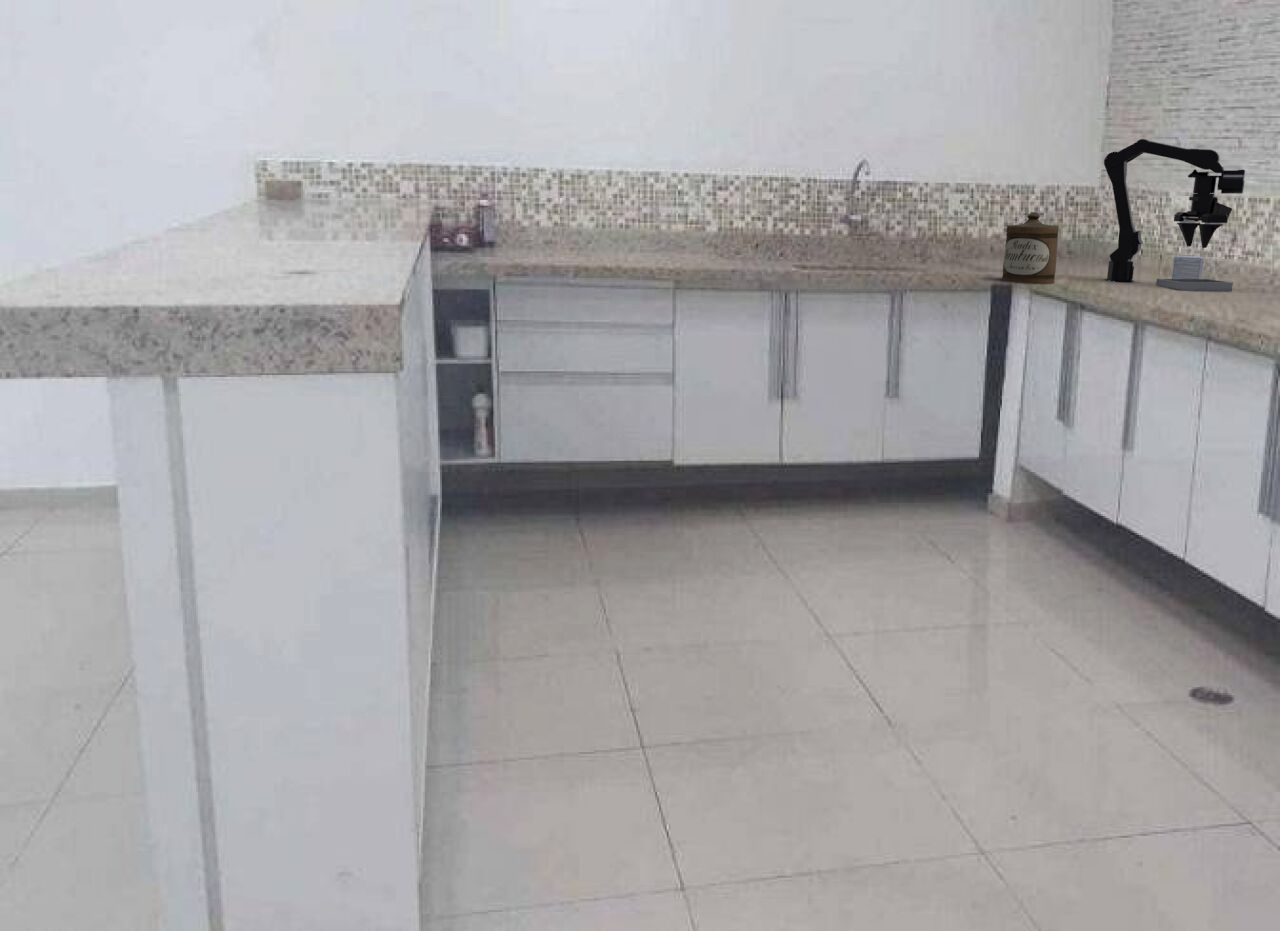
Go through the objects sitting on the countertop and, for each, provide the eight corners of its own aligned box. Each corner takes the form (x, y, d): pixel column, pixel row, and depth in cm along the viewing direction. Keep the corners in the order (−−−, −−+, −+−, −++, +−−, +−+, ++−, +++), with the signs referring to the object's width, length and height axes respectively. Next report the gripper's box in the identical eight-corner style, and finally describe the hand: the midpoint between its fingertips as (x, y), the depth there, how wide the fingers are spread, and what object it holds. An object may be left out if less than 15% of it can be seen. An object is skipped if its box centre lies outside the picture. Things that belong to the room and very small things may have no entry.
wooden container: (994, 287, 322) (1000, 211, 316) (1011, 284, 333) (1017, 211, 328) (1044, 290, 313) (1052, 212, 308) (1060, 287, 325) (1067, 212, 319)
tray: (1178, 290, 315) (1179, 282, 315) (1155, 287, 328) (1156, 278, 327) (1231, 291, 316) (1232, 282, 315) (1207, 287, 329) (1208, 279, 328)
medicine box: (1200, 284, 338) (1204, 256, 336) (1198, 285, 335) (1202, 257, 333) (1173, 283, 343) (1177, 255, 341) (1170, 284, 339) (1174, 256, 337)
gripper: (1249, 193, 311) (1241, 248, 315) (1211, 193, 329) (1204, 245, 333) (1212, 193, 311) (1204, 248, 314) (1176, 193, 329) (1169, 245, 332)
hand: (1196, 247), depth 324 cm, fingers open, 8 cm apart
